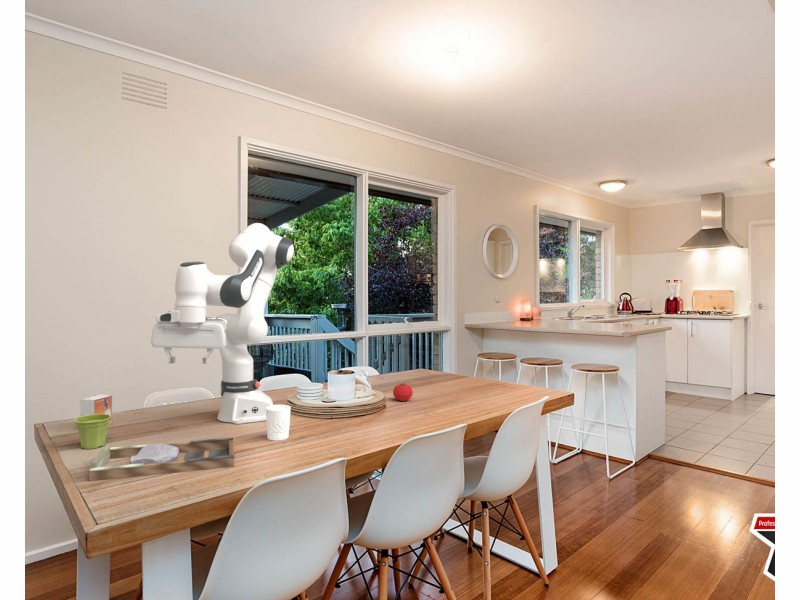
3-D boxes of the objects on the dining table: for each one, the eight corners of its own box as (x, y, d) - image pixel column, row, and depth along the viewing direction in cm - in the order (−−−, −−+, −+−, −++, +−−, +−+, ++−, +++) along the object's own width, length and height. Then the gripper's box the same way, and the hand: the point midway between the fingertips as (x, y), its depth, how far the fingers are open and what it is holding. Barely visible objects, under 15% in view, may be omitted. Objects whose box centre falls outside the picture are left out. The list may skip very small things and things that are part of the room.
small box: (93, 431, 160) (93, 400, 160) (79, 430, 161) (79, 398, 161) (112, 424, 168) (112, 394, 168) (98, 423, 169) (99, 394, 169)
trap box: (232, 446, 148) (233, 433, 148) (233, 466, 131) (233, 452, 131) (106, 457, 136) (106, 443, 136) (89, 481, 120) (89, 465, 119)
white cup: (294, 435, 160) (295, 405, 160) (281, 442, 152) (282, 411, 152) (274, 433, 162) (274, 403, 162) (260, 439, 155) (260, 408, 155)
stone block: (180, 462, 139) (145, 455, 138) (183, 446, 139) (148, 439, 138) (163, 479, 127) (125, 472, 126) (167, 462, 127) (128, 455, 126)
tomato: (391, 398, 218) (392, 380, 217) (411, 398, 219) (411, 380, 218) (393, 403, 209) (394, 384, 209) (413, 402, 210) (414, 384, 210)
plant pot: (71, 453, 139) (71, 423, 139) (78, 443, 148) (78, 415, 148) (108, 449, 143) (108, 420, 143) (113, 440, 152) (113, 412, 151)
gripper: (229, 317, 146) (227, 362, 145) (157, 315, 142) (155, 361, 142) (225, 317, 139) (223, 365, 139) (150, 315, 136) (148, 364, 136)
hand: (188, 363), depth 141 cm, fingers open, 8 cm apart
